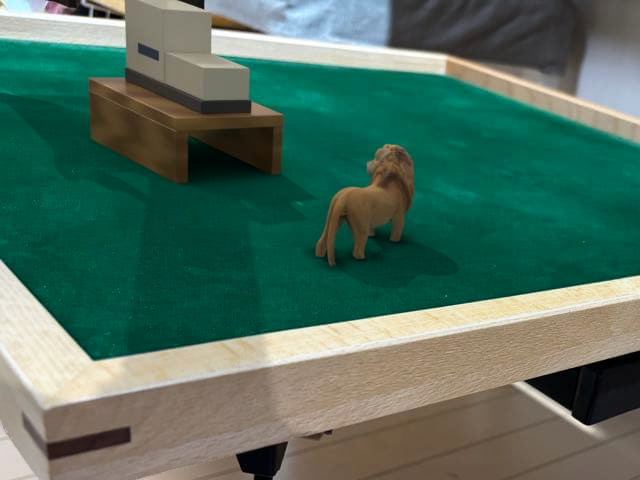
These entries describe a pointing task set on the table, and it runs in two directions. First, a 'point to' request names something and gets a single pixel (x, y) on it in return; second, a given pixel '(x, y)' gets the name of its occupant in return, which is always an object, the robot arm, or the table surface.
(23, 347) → the table surface
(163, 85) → the grey stepped block
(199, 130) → the low wooden table
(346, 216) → the lion figurine
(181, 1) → the robot arm
